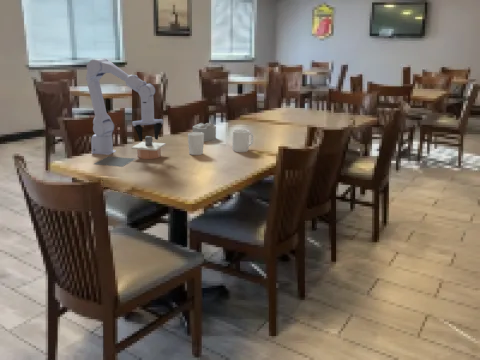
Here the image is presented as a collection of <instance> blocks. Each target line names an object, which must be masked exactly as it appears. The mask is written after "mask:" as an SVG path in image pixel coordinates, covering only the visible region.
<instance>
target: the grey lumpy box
mask: <svg viewBox="0 0 480 360" xmlns="http://www.w3.org/2000/svg"><path fill="white" fill-rule="evenodd" d="M192 132H201V133H204V143H205V142H211V141H215V140H216V139H217V125H215V124H213V123H210V122H206V123H203V122H200V123H198V124H195V125H193V126H192Z"/></svg>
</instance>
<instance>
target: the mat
mask: <svg viewBox="0 0 480 360" xmlns="http://www.w3.org/2000/svg"><path fill="white" fill-rule="evenodd" d="M135 160H136V158H133V157H131V158H130V157H122V156H121V157H119V156H111V155H109V156H108V155H107V156H106V157H104V158H102V159H100V160H98V161H97V162H94V163H93V165H96V166H97V165H99V166H109V167H111V166H112V167H119V168H120V167H121V168H123V167H124V166H126V165H128V164H130V163H131V162H133V161H135Z"/></svg>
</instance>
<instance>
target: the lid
mask: <svg viewBox="0 0 480 360" xmlns="http://www.w3.org/2000/svg"><path fill="white" fill-rule="evenodd" d="M144 139H145V140H144V141H140V142H139V143H137V144H134V145H133V146H131V149H132V150H137V149H140V150H153V151H157V150H158V149H160V148H161V149H162V148H163V147H165V146H167V144H166V142H165V143H164V142H155V141H154V142H153V136H150V135H146V136H145V138H144Z"/></svg>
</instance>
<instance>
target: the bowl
mask: <svg viewBox="0 0 480 360" xmlns="http://www.w3.org/2000/svg"><path fill="white" fill-rule="evenodd" d="M136 150H137V153H136V154H137V157H138V158H139V159H144V160H151V159H152V160H153V159H158V158H160V157H161V156H162V153H161V151H162V148H160V149H158V150H157V151H153V150H140V149H136Z"/></svg>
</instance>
